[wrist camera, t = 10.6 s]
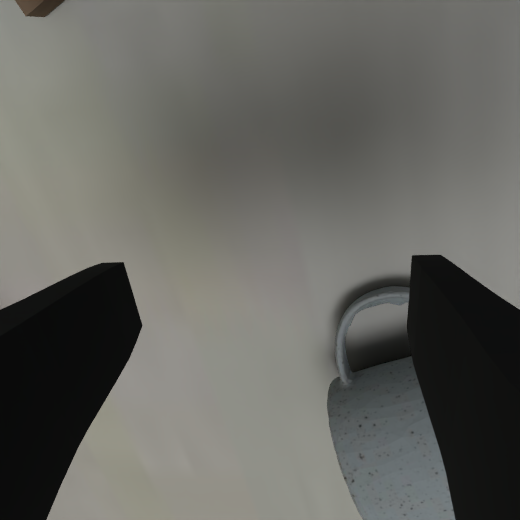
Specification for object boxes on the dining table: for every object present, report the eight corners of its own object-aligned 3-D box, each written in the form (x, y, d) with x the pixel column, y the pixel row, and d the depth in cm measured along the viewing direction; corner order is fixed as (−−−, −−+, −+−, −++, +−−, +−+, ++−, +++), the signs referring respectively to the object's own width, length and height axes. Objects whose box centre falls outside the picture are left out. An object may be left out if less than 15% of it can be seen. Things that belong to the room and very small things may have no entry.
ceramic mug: (524, 402, 23) (603, 554, 16) (382, 440, 26) (399, 581, 19) (448, 247, 19) (507, 358, 13) (295, 312, 22) (278, 429, 16)
